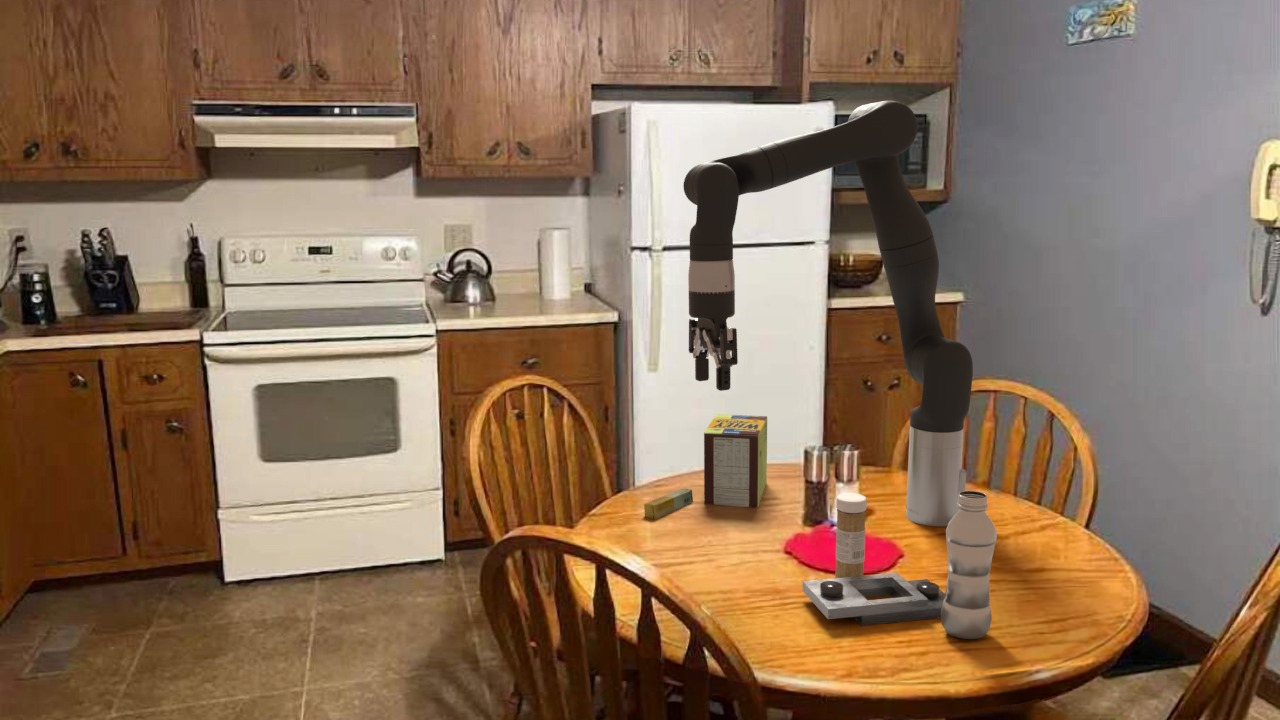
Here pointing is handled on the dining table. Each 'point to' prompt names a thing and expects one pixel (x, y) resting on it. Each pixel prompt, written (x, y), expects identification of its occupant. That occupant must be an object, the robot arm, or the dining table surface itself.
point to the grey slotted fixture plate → (847, 602)
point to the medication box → (668, 503)
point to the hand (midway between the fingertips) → (712, 385)
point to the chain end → (932, 612)
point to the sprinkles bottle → (850, 535)
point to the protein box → (735, 460)
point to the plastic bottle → (969, 568)
